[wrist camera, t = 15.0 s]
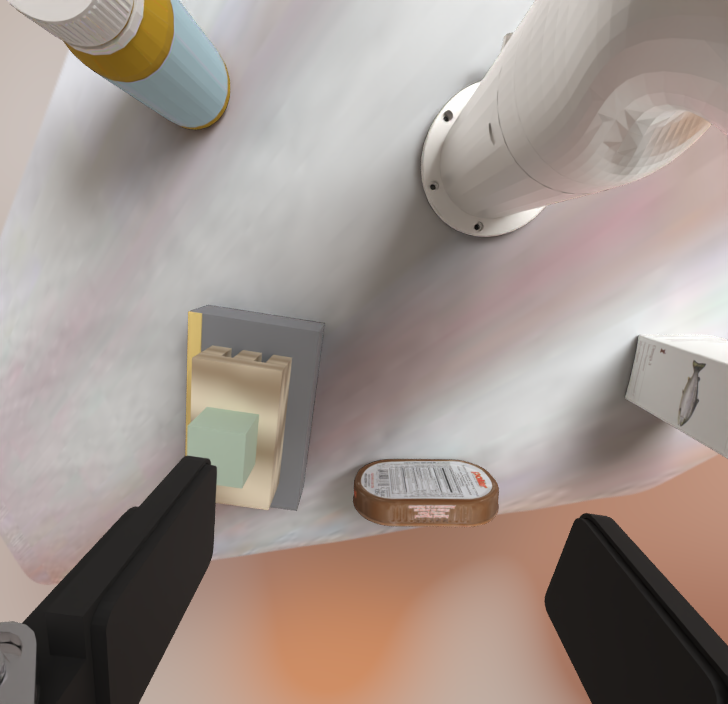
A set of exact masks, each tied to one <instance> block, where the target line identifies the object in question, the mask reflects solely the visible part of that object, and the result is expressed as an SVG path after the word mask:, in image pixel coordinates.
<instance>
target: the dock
mask: <svg viewBox="0 0 728 704" xmlns="http://www.w3.org/2000/svg"><path fill="white" fill-rule="evenodd" d="M324 325H325V323H320V322H313V321H307V320H301V319H294V318H288V317H282V316H275V315H269V314H263V313H256V312H250V311H244V310H237V309H231V308H225V307H218V306H212V305H206V306H203V307H201V308H198V309H195V310H192V311H189V312H188V348H187V397H186V446H185V456H187V431H188V425H189V424H190V423H191V380H192V358H193V357H194V356H196V355H198V354H199V353H201V352H202V351H204V350H206V349H207V348H209V347H211V346H212V345H213V346H220V347H226V348H232V353H231V358H233V357H235V356H236V355H237V354H239V353H240V352H241V351H242V350H246V351H252V352H259V353H262V360H261V362H264V363H266V362H267V361H268V360H269V359H270V358H271V356H272V355H278V356H285V357H292V364H291V373H290V383H289V392H288V402H287V411H286V421H285V430H284V440H283V449H282V459H281V468H280V478H279V484H278V487H277V490H276V492H275V495H274V497H273V500H272V503H271V505H270V507H273V508H280V509H287V510H294V511H297V509H298V505H299V501H300V498H301V494H302V490H303V487H304V479H305V471H306V464H307V456H308V448H309V440H310V433H311V425H312V417H313V410H314V402H315V394H316V386H317V379H318V371H319V363H320V356H321V348H322V340H323V332H324Z"/></svg>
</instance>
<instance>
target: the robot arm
mask: <svg viewBox="0 0 728 704" xmlns="http://www.w3.org/2000/svg"><path fill="white" fill-rule="evenodd" d="M444 117H447V118H448V120H449V121H448V122H445V121H444V120H443V118H444ZM712 124H713V125H714V126H716V127H717V128H718V129H719V130H720V131H722V132H723V133H724V134H725V135H726V136H728V0H535V1H534V3H533V5H532V6H531V8H530V9H529V11H528V12H527V14H526V15H525V17H524V18H523V20H522V21H521V23H520V24H519V26H518V27H517V29H516V30H515V32H514V33H509V34H506V35H505V36H504V39H503V43H502V48H501V52H500V54H499V56H498V57H497V59H496V60H495V62H494V63H493V65H492V66H491V68H490V69H489V71H488V72H487V74H486V75H485V77H484V78H483V80H482V81H479V82H477V83H474V84H472V85H470V86H468V87H466V88H464V89H463V90H462V91H460V92H459V93H457V94H456V95H454V96H453V97H452V98H451V99H450V100H449V101H448V102H447V103H446V104H445V105H444V106H443V108H442V109H441V111H440V112H439V114H438V115H437V116H436V118H435V119H434V121H433V123H432V125H431V127H430V129H429V131H428V134H427V137H426V140H425V142H424V146H423V152H422V157H421V177H422V183H423V188H424V191H425V194H426V196H427V199H428V201H429V203H430V205H431V206H432V208H433V210H434V211H435V213H436V214H437V215H438V216H439V217H440V218H441V219H442V220H443V221H444V222H445V223H446V224H448V225H449V226H450V227H452V228H453V229H455V230H457V231H460V232H462V233H464V234H468V235H472V236H477V237H491V236H499V235H502V234H506V233H509V232H513V231H515V230H517V229H519V228H521V227H523V226H525V225H526V224H527V223H529V222H530V221H531V220H533V219H534V218H535V217H536V216H537V215H538V214H539V213H540V212H541V211H543V210H544V208H545V207H546V206H547V205H551V204H555V203H559V202H563V201H566V200H570V199H574V198H578V197H582V196H586V195H590V194H594V193H598V192H602V191H606V190H609V189H612V188H616V187H620V186H623V185H626V184H629V183H631V182H634V181H637V180H639V179H642V178H644V177H646V176H648V175H650V174H652V173H654V172H656V171H658V170H659V169H661V168H663V167H664V166H666V165H667V164H669V163H670V162H672V161H673V160H674V159H676V158H677V157H678V156H679V155H681V154H682V153H683V152H684V151H686V150H687V149H688V148H689V147H690V146H692V145H693V144H694V143H695V142H696V141H697V140H698V139H699V138H700V137H701V136H702V135H703V134H704V133H705V132H706V131H707V130H708V128H709V127H710V126H711V125H712ZM431 185H435V190H431V188H430V186H431ZM476 224H477V225H478V229H477V230H475V229H474V226H475V225H476ZM216 484H217V467H216V466H214V465H211V461H210V459H208V458H202V457H195V456H188V455H187V456H185V457H184V458H182V459H181V461H180V462H179V463H178V464H177V465H176V466H175V467H174V468H173V470H172V471H171V472H170V473H169V474H168V475H167V476H166V477H165V478H164V480H163V481H162V482H161V483H160V484H159V485H158V486H157V487H156V488H155V490H154V491H153V492H152V493H151V494H150V495H149V496H148V497H147V498H146V500H145V501H144V502H143V503H142V504H141V505H140V506H139V507H132V508H130V509H129V510H128V511H127V512H125V513H124V514H123V515H122V516H121V517H120V519H119V520H118V521H117V522H116V523H115V524H114V525H113V526H112V527H111V528H110V529H109V530H108V531H107V533H106V534H105V535H104V536H103V537H102V538H101V539H100V540H99V541H98V542H97V543H96V544H95V545H94V546H93V548H92V549H91V550H90V551H89V552H88V553H87V554H86V555H85V556H84V557H83V558H82V559H81V560H80V561H79V563H78V564H77V565H76V566H75V567H74V568H73V569H72V570H71V571H70V572H69V573H68V574H67V575H66V577H65V578H64V579H63V580H62V581H61V582H60V583H59V584H58V585H57V586H56V587H55V588H54V589H53V590H52V592H51V593H50V594H49V595H48V596H47V597H46V598H45V599H44V600H43V601H42V602H41V603H40V605H39V606H38V607H37V608H36V609H35V610H34V611H33V612H32V613H31V614H30V615H29V617H27V619H26V620H25V621H24V622H23V623H18V622H13V621H12V622H1V623H0V704H139V702H140V700H141V698H142V696H143V694H144V692H145V690H146V688H147V686H148V684H149V682H150V680H151V678H152V676H153V674H154V672H155V670H156V668H157V666H158V665H159V662H160V661H161V659H162V657H163V655H164V653H165V651H166V649H167V647H168V645H169V643H170V641H171V639H172V637H173V635H174V633H175V631H176V629H177V627H178V625H179V623H180V621H181V619H182V617H183V615H184V613H185V611H186V609H187V607H188V606H189V604H190V602H191V600H192V598H193V596H194V594H195V592H196V590H197V588H198V586H199V584H200V582H201V580H202V578H203V576H204V574H205V572H206V570H207V568H208V566H209V564H210V561H211V558H212V554H213V544H214V524H215V504H216ZM545 607H546V611H547V613H548V615H549V617H550V619H551V621H552V623H553V625H554V627H555V629H556V631H557V633H558V636H559V637H560V639H561V642H562V644H563V646H564V648H565V650H566V652H567V654H568V656H569V658H570V660H571V662H572V664H573V666H574V668H575V670H576V672H577V674H578V676H579V678H580V680H581V682H582V684H583V686H584V688H585V690H586V692H587V694H588V696H589V698H590V701H591V702H592V704H728V646H727V644H726V643H725V642H724V641H723V640H722V639H721V638H720V637H719V636H718V635H717V633H716V632H715V631H714V630H713V629H712V628H711V627H710V626H709V625H708V624H707V622H706V621H705V620H704V619H703V618H702V617H701V616H700V615H699V614H698V613H697V611H696V610H695V609H694V608H693V607H692V606H691V605H690V604H689V603H688V602H687V600H686V599H685V598H684V597H683V596H682V595H681V594H680V593H679V592H678V591H677V589H675V587H674V586H673V585H672V584H671V583H670V582H669V581H668V580H667V578H666V577H665V576H664V575H663V574H662V573H661V572H660V571H659V570H658V569H657V568H656V566H655V565H654V564H653V563H652V562H651V561H650V560H649V559H648V557H647V556H646V555H645V554H644V553H643V552H642V551H641V550H640V549H639V548H638V546H637V545H636V544H635V543H634V542H633V541H632V540H631V539H630V538H629V537H628V536H627V534H626V533H625V532H624V531H623V530H622V529H621V528H620V527H619V526H618V525H617V523H616V522H615V521H614V520H613V519H612V518H610V517H607V516H602V515H595V514H588V513H585V514H583V515H581V516H580V518H577V519H576V520H575V521H574V523H573V526H572V528H571V531H570V533H569V536H568V538H567V541H566V544H565V546H564V549H563V551H562V554H561V556H560V559H559V562H558V564H557V566H556V569H555V572H554V574H553V577H552V579H551V582H550V585H549V587H548V589H547V592H546V595H545Z"/></svg>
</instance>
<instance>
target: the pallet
mask: <svg viewBox="0 0 728 704" xmlns="http://www.w3.org/2000/svg"><path fill="white" fill-rule="evenodd" d="M231 353H232V348H226V347H220V346H213V345H212V346H211V347H209V348H207V349H206V350H204V351H202V352H201V353H199V354H198V355H196V356H194V357H193V358H192V380H191V422H192V421H193V420H194V419H195V418H196V417H197V416H198V415H199V414H200V413H201V412H202V411H203V410H204V409H205V408H206V407H212V408H218V409H225V410H232V411H239V412H246V413H253V414H259V422H258V435H257V447H256V460H255V465H254V467H253V469H252V471H251V473H250V475H249V477H248V479H247V480H246V482H245V484H244V486H243V488H234V487H227V486H220V485H216V503H221V504H228V505H235V506H242V507H249V508H256V509H263V510H269V508H270V505H271V503H272V500H273V497H274V495H275V492H276V490H277V487H278V484H279V478H280V468H281V459H282V449H283V440H284V430H285V421H286V411H287V402H288V392H289V383H290V373H291V364H292V357H285V356H278V355H272V356H271V358H270V359H269V360H268V361H267V362H266V363H264V362H261V360H262V353H259V352H252V351H246V350H242V351H241V352H240V353H239V354H237V355H236V356H235V357H233V358H231Z"/></svg>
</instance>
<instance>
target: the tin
mask: <svg viewBox="0 0 728 704" xmlns="http://www.w3.org/2000/svg"><path fill="white" fill-rule="evenodd" d="M498 496H499V487H498V484H497V482H496V480H495V479H494V478H493V477H492V476H491V475H490V473H489V472H488V471H486V470H485V469H484V468H482V467H480V466H478V465H475V464H472V463H469V462H466V461H461V460H443V459H387V460H379V461H375V462H372V463H369V464H367V465H365V466H364V467H362V468H361V469H360V470H359V471H358V473H357V475H356V477H355V480H354V497H353V503H354V506H355V508H356V510H357V511H358V512H359V514H360V515H361V516H363V517H364V518H366V519H367V520H369V521H372V522H374V523H377V524H380V525H386V526H435V527H439V526H440V527H441V526H443V527H444V526H445V527H475V526H479V525H483V524H486V523H488V522H489V521H491V520H493V519H494V518H495V516H496V515H497V513H498V510H499V505H498Z"/></svg>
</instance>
